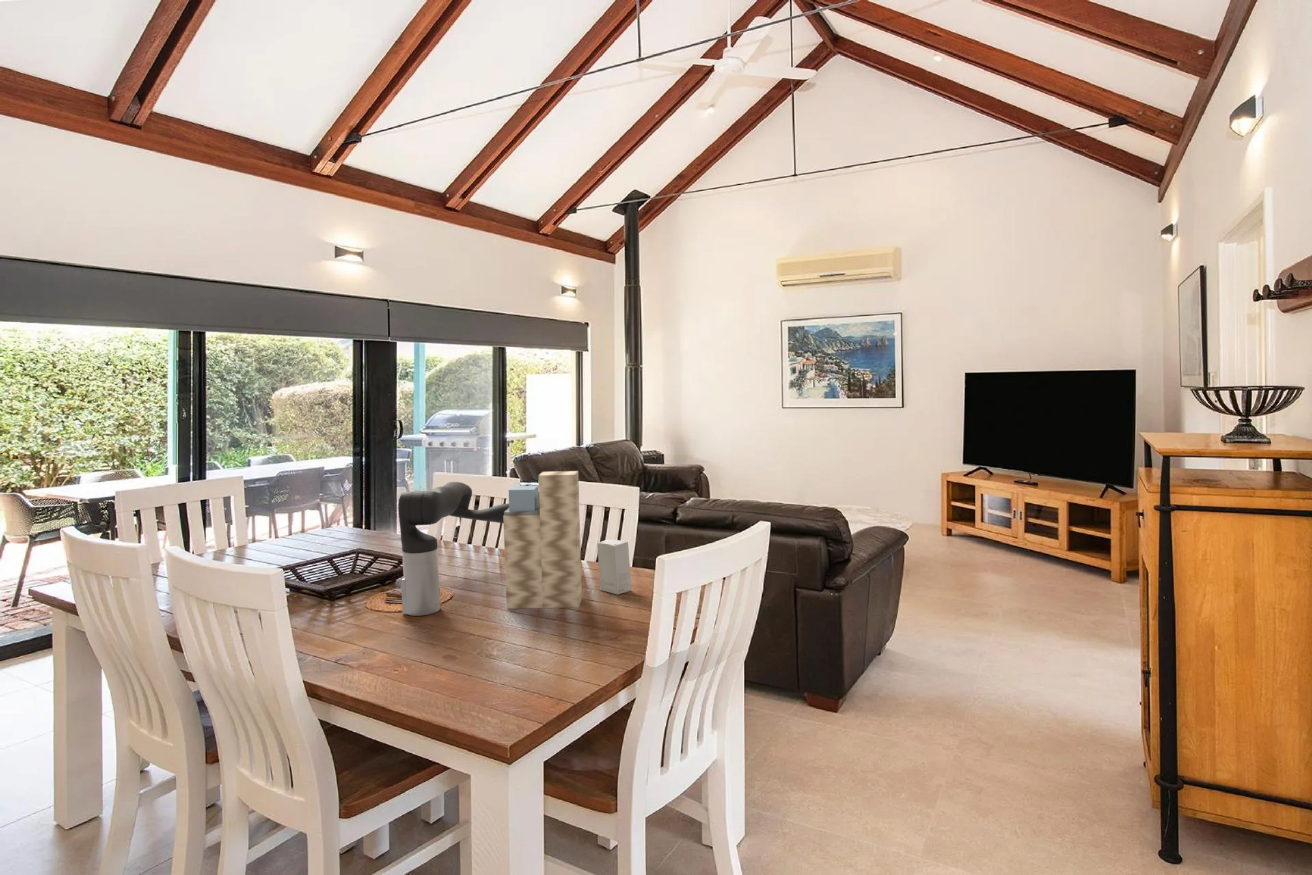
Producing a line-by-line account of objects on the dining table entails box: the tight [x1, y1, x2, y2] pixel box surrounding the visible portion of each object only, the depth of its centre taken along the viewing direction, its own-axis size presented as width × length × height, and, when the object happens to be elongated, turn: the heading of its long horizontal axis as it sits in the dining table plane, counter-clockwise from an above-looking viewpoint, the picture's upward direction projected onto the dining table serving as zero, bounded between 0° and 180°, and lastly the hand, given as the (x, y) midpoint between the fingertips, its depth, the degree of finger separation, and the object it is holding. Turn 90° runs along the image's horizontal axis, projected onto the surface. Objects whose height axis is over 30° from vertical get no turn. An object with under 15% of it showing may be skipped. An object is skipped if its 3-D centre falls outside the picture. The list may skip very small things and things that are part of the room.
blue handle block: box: [508, 485, 539, 512], centre depth 208 cm, size 7×16×6 cm, turn 0°
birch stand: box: [503, 470, 583, 610], centre depth 203 cm, size 20×8×37 cm, turn 90°
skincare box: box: [596, 538, 632, 595], centre depth 216 cm, size 8×6×15 cm
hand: (532, 489), depth 217 cm, fingers open, 8 cm apart
